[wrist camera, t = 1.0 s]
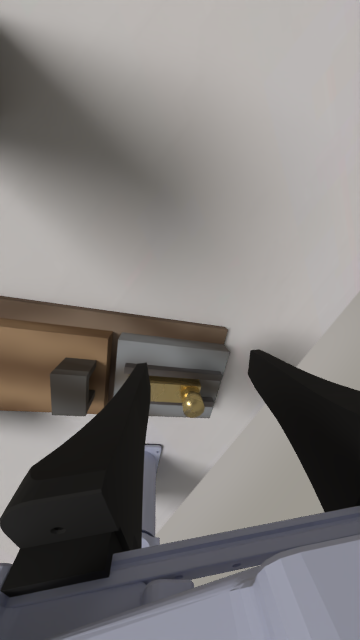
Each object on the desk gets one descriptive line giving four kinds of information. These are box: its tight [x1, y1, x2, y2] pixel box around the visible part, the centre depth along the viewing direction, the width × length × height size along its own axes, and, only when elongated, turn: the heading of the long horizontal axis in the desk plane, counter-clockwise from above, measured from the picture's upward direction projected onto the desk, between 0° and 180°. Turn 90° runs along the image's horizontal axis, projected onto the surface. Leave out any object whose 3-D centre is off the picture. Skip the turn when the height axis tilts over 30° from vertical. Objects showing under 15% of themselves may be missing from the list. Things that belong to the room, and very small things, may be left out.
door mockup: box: [0, 296, 230, 418], centre depth 19 cm, size 14×26×6 cm, turn 79°
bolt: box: [128, 374, 205, 418], centre depth 18 cm, size 2×8×4 cm, turn 80°
